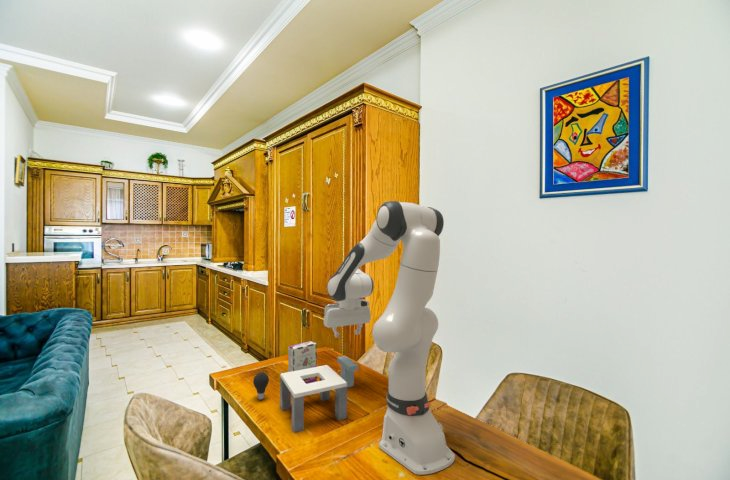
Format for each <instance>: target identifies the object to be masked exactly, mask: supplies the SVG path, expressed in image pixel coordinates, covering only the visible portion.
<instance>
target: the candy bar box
mask: <svg viewBox="0 0 730 480" xmlns="http://www.w3.org/2000/svg"><path fill="white" fill-rule="evenodd" d="M287 354H288V357H287V358H288V359H287V360H288V372H291V371H297V370H302V369H308V368H313V367H318V365H317V364H318V362H317V357H318V356H317V343H316V342H315V341H312V340H309V341H306V342H300V343H297V344H294V345H289V346H288V347H287ZM302 380H303V381H304V382H305V383H306V384H308V383H313V382H318V381H317V380H318V376H316V377H311V378H306V379H302Z"/></svg>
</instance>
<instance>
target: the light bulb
mask: <svg viewBox="0 0 730 480" xmlns="http://www.w3.org/2000/svg"><path fill="white" fill-rule="evenodd" d="M269 381H270V377H269V375H268V374H267V373H266V372H262V371H260V372H258V373H256V375H254V377H253V381H252V382H253V384H252V385H253V386H254V388H255V390H256V393H257V399H258V400H259V401H262V400H263V399H264V398H265V392H266V390H267V389H266V388H267V387H268V384H269Z"/></svg>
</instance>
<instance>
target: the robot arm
mask: <svg viewBox="0 0 730 480" xmlns="http://www.w3.org/2000/svg"><path fill="white" fill-rule="evenodd" d="M444 222H445V221H444V216H443V214H442V213H441V212H440V211H439V210H438V209H436V208H433V207H432V206H431V207H430V206H424V205H421V204H418V203H417V204H416V203H414V202H406V201H403V202H402V201H398V200H390V201H385V202H383V203H382V204H381V206H380V207H379V208H378V210H377V213H376V219H375V220H374V222H373V224H372V226H371V228H370V230H369V231H368V233H367V234H366V235H365V237H364V238H363V239H362V240H360V241H359V242H358V243H357V244H355V245H354V246H353V247H352V248H351V249H350V251H349V252H348V254H347V255H346V257H345V258H344V260H343V261H342V263H341V264H340V266H339V267H338V269H337V270H336V272H335V273H333V275H331V277H330V278H329V280H328V282H327V284H326V290H327V291H326V292H327V294H328V295H329V297H330V298H331V299H333V300H334V301H335V302H336V303H328V304H327V305H325V306H324V309H323V313H324V316H323V325H324V327H326V328H328V329H330V328H331V329H332V331H333V333H334V335H333V336H334V337H335V339H337V338H340V332H338V330H337V329H338V327H339V328H340V327H345V326H346V327H347V326H356V325H357V328H356V329H354V334H355V335H357V336H358V335H360V334H361V330H362V328H363V324H368V323H370V321H371V320H372V319H371V316H372V315H371V309H370V307H369V306H370V302H369V301H368V300H366V299H363V298H369V297H370V296H371V295H372V294H373V292H374V287H375V285H374V280H373V278H372V276H371V275H370V274H369V273H366V272H364V271H362V270H361V269H360V267H362V266H364V265H366V264H369V263H372V262H376V261H379V260H384V259H387V258H388V257H390V256H391V255H392V254H393V253H394V252H395V250H396V249H397V248H398V246H399V244H400V242H401V243H402V246H403V248H402V254H401V256H400V257H401V258H400V264H399V269H398V274H397V278H396V283H395V287H394V290H393V293H392V294H391V295H392V296H391V297H390V299H389V301H388V303H387V305H386V308H385V310H384V311H383V313H382V314H381V316H380V317H379V318H378V319H377V320H376V321H375V322H374V325H373V327H372V334H371V335H372V339H373V342H374V344H375V345H376V347H377V348H378V349H379V350H380V351H382V352H383V353H388V354H390V353H394V354H393V355H394V356H393V357H392V358H391V360H390V362H389V365H388V389H387V391H386V405H387V408H386V411H385V414H384V417H383V425H382V435H381V440H380V441H379V443H378V447H379V449H381V451H383V452H384V453H386V454H387V455H389V456H390V457H391V458H392V459H394V460H396V461H397V463H399V464H401V466H403V467H405V468H406V469H407V470H409V472H412V473H413V474H415V475H419V476H420V475H431V474H435V473H437V472H440V471H442V470H445V469H446V468H448V467H450V466H452V464H453V463H454V461H455V460H456V454H455V453H454V452H453V451H452V450H451V448H450V447H449V446H448V445H447V440H446V436H445V433H444V431H443V430H444V429H443V425H442V423H440V422H438V421H437V420H436V418H435V417H434V414H433V413H432V411H431V409H430V407H432V405H431V404H432V402H431V401H430V402H429V397H428V393H427V392H426V370H427V362H428V358H429V353H430V350H431V347H432V343H433V340H434V337H435V334H436V333H437V331H438V329H439V319H438V317H437V314H436V313H435V312H434V311H433V310H432V309H431V308H428V307H426V306H427V304H428V303H429V301H430V300H431V299H432V297H433V294H434V292H435V291H434V290H435V285H436V279H437V274H438V270H439V263H440V258H441V257H440V255H441V254H440V253H441V239H440V238H439V237H440V235H441V234H442V232H443V230H444V225H445V224H444Z"/></svg>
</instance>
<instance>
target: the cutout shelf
mask: <svg viewBox="0 0 730 480" xmlns="http://www.w3.org/2000/svg"><path fill="white" fill-rule="evenodd" d="M316 376H317V377H319V380H318V381H316V382H313V383H308V384H306V383H305V382H304V381H303V380H302V379H306V378H311V377H316ZM279 377H280V383H279V385H280V388H279V390H280V391H279V393H280V394H279V396H280V397H279V399H280V400H279V407H280V410H281V411H288V410H291V430H292V431H293V433H294V434H295V433H299V432H303V431H304V430H305V427H304V426H305V425H304V423H305V421H304V420H305V418H304V417H305V415H304V414H305V406H304V405H305V404H304V403H305V396H310V395H315V394H319V399H320V400H321V401H322V402H325V401H329V400H330V399H331V390H335V391H334V399H335V400H334V417H335V418H336V420H337V421H342V420H345V419H347V418H348V417H347V416H348V388H347V382H346V381H345V380H343V379H342V378H341V375H339V374H338V373H337V372H336V371H335V370H333V368H331V367H330V366H329V365H328V364H325V365H320V366H318V365H317V367H313V368H308V369H302V370H297V371H291V372H289V371H286V372H282V373H280V375H279Z"/></svg>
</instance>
